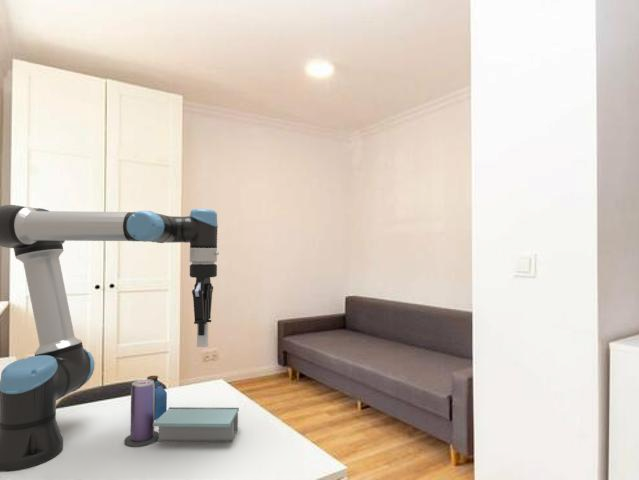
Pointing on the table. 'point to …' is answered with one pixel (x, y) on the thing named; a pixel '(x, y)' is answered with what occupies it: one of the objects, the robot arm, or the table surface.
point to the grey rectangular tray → (199, 433)
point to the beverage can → (142, 410)
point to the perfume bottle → (159, 399)
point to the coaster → (131, 443)
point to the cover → (196, 417)
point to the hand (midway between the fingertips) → (202, 346)
